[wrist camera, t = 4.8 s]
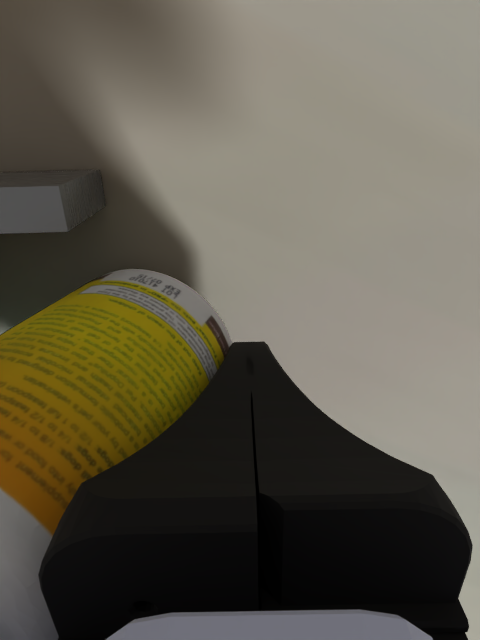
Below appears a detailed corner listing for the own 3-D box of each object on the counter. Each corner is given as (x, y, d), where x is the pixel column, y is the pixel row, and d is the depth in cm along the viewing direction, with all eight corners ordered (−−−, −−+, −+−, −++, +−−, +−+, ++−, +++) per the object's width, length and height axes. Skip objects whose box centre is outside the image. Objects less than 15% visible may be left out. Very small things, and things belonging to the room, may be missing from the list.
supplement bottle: (93, 231, 12) (-631, 537, 3) (268, 310, 12) (-65, 905, 3) (71, 374, 15) (-359, 743, 6) (212, 442, 15) (-44, 950, 6)
